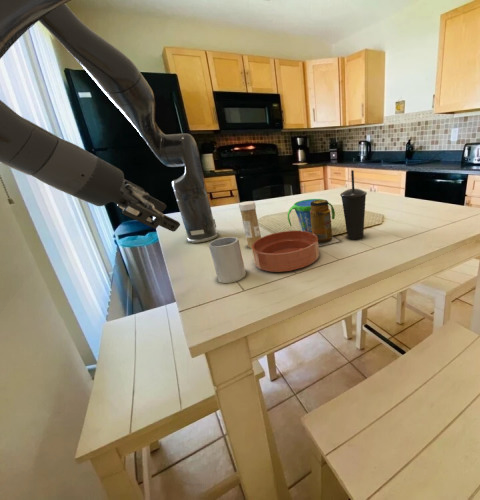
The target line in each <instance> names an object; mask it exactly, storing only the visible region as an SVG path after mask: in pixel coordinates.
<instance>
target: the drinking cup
mask: <svg viewBox="0 0 480 500" xmlns="http://www.w3.org/2000/svg"><path fill="white" fill-rule="evenodd" d="M350 174H351V188H349V189H346V190H344V191H343V192H340V194H339V195H340V197H341V203H342V209H343V210H342V211H343V215H344V216H343V217H344V222H345V228H346V236H347V239H348V240H350V241H358V240H362V239H364V233H365V231H364V230H365V216H366V215H365V214H366V197H367V194H368V193H367V191H365V190H362V189H360V188H355V171H354V170H351V171H350Z"/></svg>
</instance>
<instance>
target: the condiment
mask: <svg viewBox="0 0 480 500" xmlns="http://www.w3.org/2000/svg"><path fill="white" fill-rule="evenodd" d="M328 202H329V200H327V199H323V200H314V201H312V202H311V211H310V217H311V227H312V233H314V234H315V235H316V236H317V237H318V245H319V247H322V246H327V245H332V244H335V243H339V242H340V240H339V239H338V238H336V237H334V236H332V235H333V230H332V227H333V226H332V220H331V219H332V214H331V210H330V205H329V204H328Z"/></svg>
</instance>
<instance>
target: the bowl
mask: <svg viewBox="0 0 480 500" xmlns="http://www.w3.org/2000/svg"><path fill="white" fill-rule="evenodd" d="M301 248H302V249H301ZM250 249H251V252H252V258H253V262H254V265H255V267H257V268H258V269H259V270H263V271H266V272H275V273H280V272H281V273H282V272H292V271H295V270H299V269H302V268H305V267H307V266H310V265H311V264H313V263H314V262H315V261H317V260H318V259H319V257H320V246H319V245H318V237H317V236H316V235H315V234H314V233H311V232H307V231H302V230H286V231H285V230H284V231H279V232H278V231H277V232H273V233H269V234H267V235H264V236H261V238H259V239H258V240H256V241H255V242H253V244H252V246H251V248H250ZM300 249H301V250H300Z"/></svg>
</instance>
